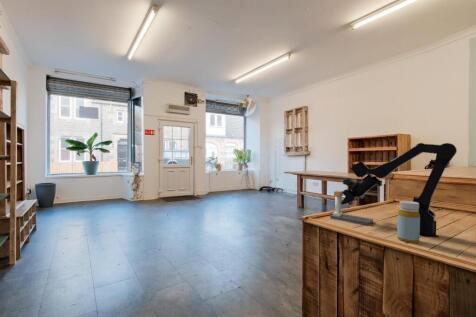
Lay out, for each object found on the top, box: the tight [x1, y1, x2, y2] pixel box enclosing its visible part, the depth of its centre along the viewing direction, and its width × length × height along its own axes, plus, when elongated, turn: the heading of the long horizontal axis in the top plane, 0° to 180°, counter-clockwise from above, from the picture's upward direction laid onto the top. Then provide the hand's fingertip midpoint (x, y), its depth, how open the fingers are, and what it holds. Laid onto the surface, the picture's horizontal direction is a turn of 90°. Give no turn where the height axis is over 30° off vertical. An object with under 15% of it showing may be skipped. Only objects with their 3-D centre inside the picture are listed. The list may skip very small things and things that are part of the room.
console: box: [329, 213, 374, 226], centre depth 122 cm, size 18×9×2 cm, turn 47°
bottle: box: [396, 200, 421, 244], centre depth 93 cm, size 7×7×15 cm
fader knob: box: [332, 190, 344, 216], centre depth 127 cm, size 4×5×12 cm
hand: (341, 203), depth 126 cm, fingers closed, pressing on fader knob
